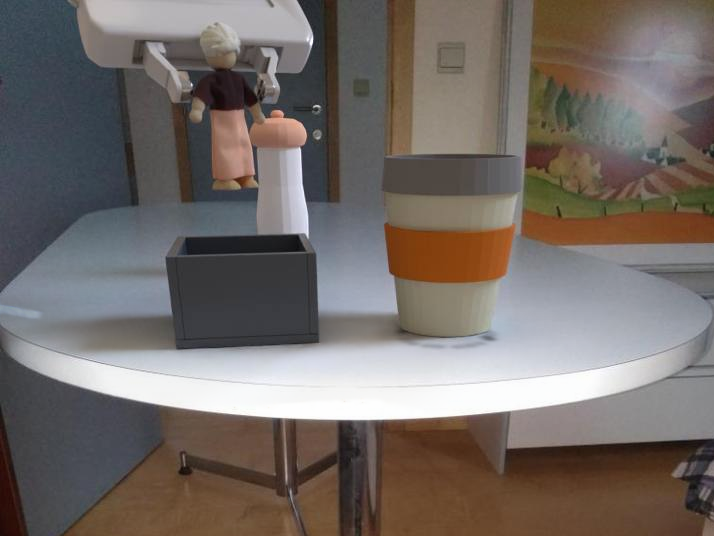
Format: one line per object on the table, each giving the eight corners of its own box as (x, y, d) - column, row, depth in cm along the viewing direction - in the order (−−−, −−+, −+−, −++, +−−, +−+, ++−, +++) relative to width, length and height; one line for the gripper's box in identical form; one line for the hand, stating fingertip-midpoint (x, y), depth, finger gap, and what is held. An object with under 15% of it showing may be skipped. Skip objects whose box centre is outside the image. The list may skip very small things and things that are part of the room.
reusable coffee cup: (420, 305, 78) (424, 153, 71) (530, 319, 72) (546, 154, 65) (355, 330, 69) (353, 157, 62) (475, 349, 62) (488, 160, 56)
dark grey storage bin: (176, 349, 63) (165, 257, 60) (186, 315, 74) (177, 236, 71) (319, 342, 65) (316, 252, 61) (308, 310, 76) (305, 233, 73)
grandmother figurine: (243, 184, 68) (230, 27, 63) (275, 185, 67) (264, 24, 61) (186, 191, 63) (166, 19, 57) (219, 193, 61) (202, 15, 55)
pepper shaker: (246, 272, 96) (234, 110, 88) (290, 265, 101) (282, 111, 92) (279, 279, 91) (270, 109, 83) (323, 272, 96) (319, 110, 87)
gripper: (53, -75, 56) (107, 60, 53) (286, -47, 66) (343, 68, 63) (53, 0, 62) (102, 127, 59) (268, 16, 72) (320, 125, 69)
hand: (229, 97), depth 61 cm, fingers closed on grandmother figurine, 6 cm apart
